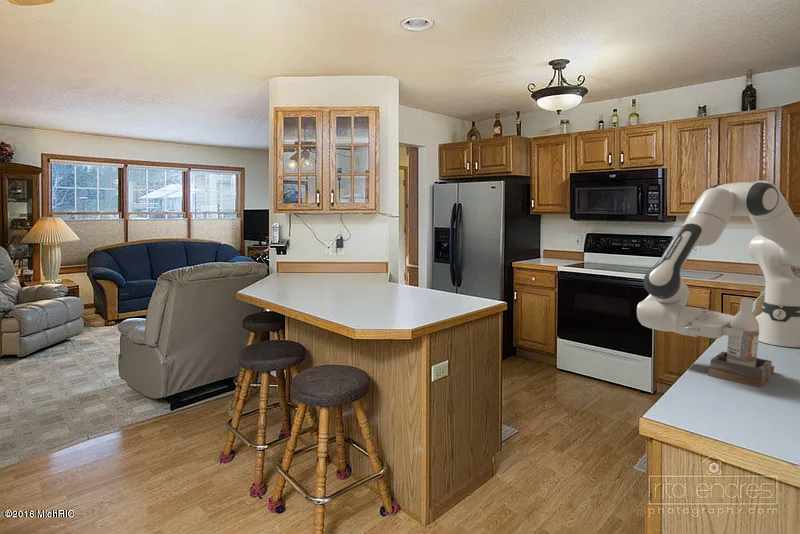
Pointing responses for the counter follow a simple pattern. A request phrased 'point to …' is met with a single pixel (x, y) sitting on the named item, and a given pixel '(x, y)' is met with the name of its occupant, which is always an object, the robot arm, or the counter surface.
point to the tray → (741, 370)
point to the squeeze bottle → (759, 304)
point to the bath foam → (744, 336)
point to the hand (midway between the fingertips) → (747, 330)
